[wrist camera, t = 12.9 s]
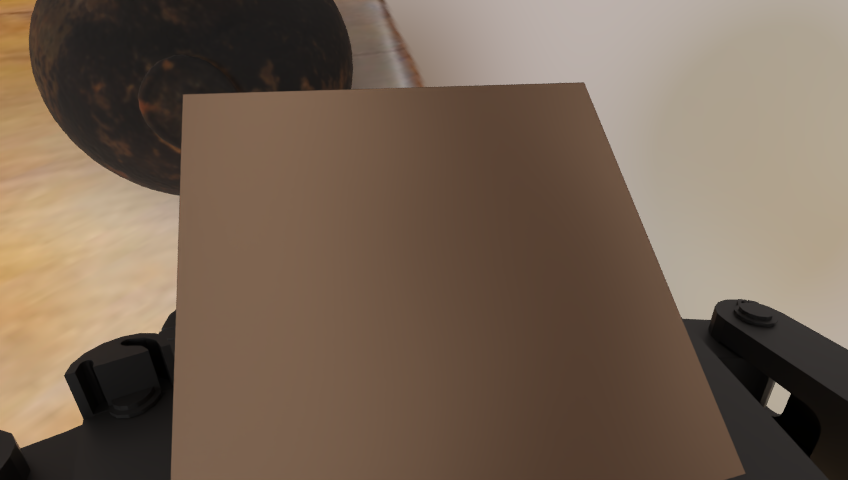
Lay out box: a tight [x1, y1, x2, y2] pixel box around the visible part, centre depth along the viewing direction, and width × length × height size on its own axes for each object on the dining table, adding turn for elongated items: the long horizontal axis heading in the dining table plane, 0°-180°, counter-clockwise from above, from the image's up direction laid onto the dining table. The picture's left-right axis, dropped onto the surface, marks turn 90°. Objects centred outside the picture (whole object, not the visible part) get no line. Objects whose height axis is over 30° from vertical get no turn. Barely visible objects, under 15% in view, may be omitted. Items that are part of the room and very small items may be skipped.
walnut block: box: [171, 83, 746, 480], centre depth 11 cm, size 6×6×12 cm
